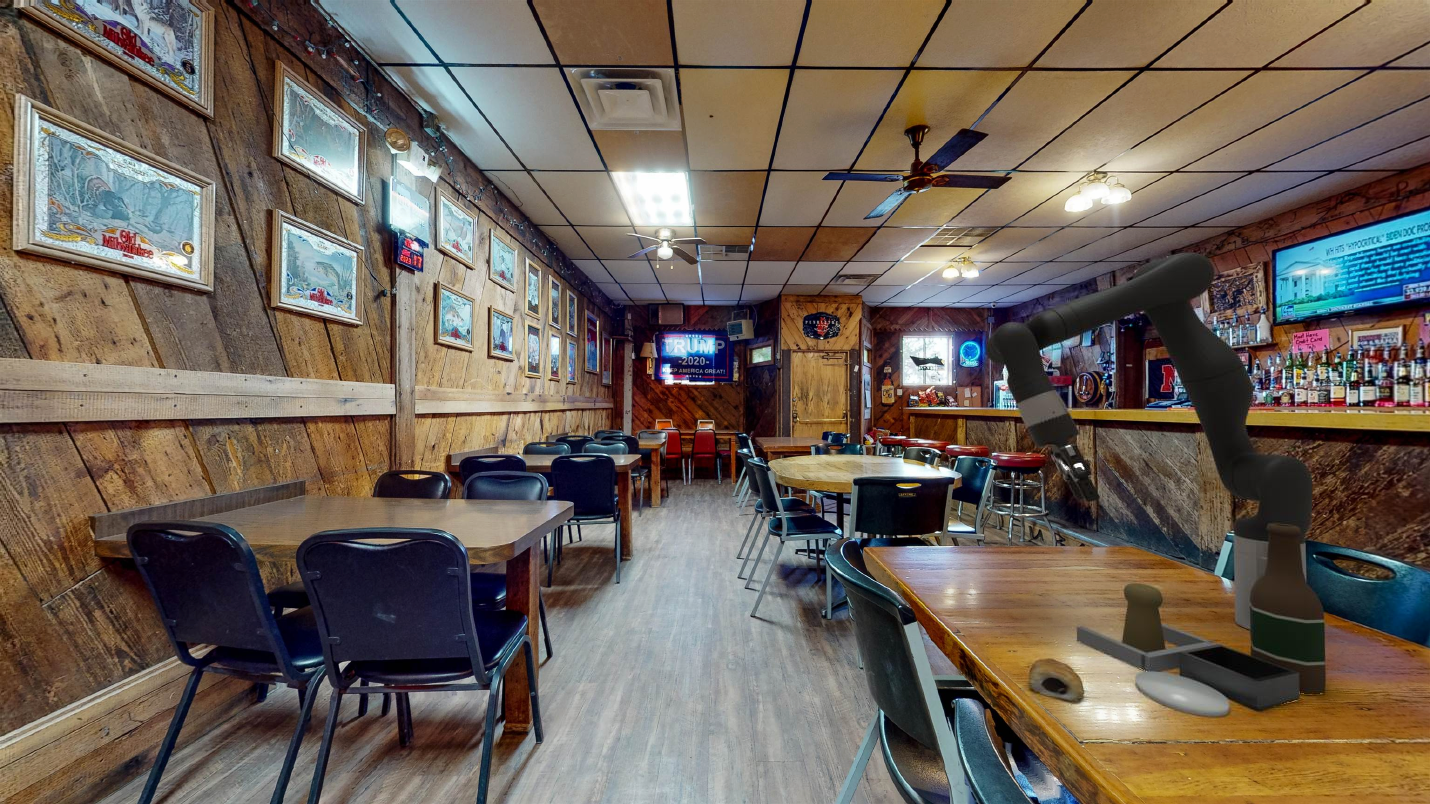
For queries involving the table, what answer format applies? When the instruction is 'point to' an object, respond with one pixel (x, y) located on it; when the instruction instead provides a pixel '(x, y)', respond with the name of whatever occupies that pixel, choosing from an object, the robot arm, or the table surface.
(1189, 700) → the saucer
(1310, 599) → the beer bottle
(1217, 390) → the robot arm
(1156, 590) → the cork
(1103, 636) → the grey u-shaped frame
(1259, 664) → the open storage bin
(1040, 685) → the pastry
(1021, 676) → the table surface
